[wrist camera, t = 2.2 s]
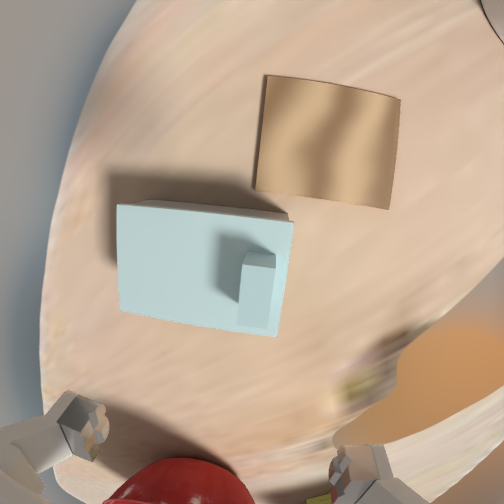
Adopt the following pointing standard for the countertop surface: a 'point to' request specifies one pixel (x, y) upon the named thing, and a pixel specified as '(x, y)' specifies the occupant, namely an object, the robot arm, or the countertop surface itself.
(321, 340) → the countertop surface
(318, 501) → the protein box
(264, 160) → the mat
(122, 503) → the mixing bowl
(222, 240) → the lid
